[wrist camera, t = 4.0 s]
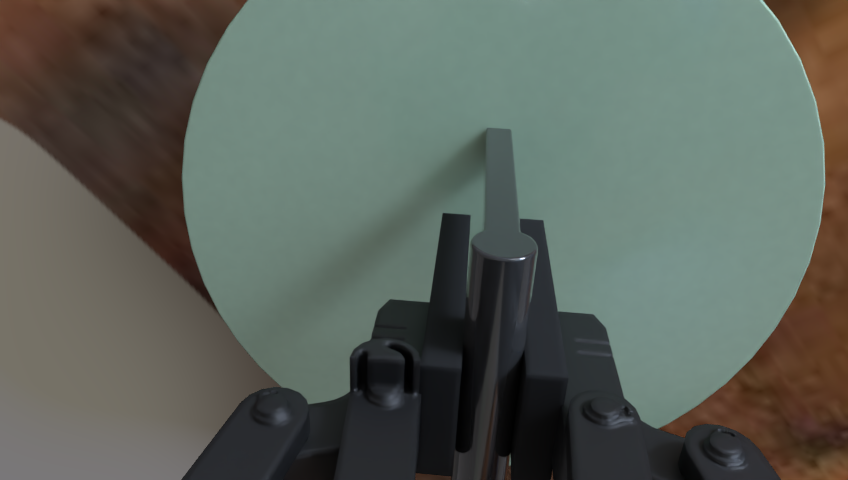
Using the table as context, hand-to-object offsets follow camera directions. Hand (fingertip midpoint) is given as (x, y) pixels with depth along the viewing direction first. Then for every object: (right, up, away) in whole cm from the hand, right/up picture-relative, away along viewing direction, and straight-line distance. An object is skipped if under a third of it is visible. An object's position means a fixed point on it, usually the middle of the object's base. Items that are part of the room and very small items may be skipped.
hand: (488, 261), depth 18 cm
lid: (0, +1, +2) cm, 2 cm away
